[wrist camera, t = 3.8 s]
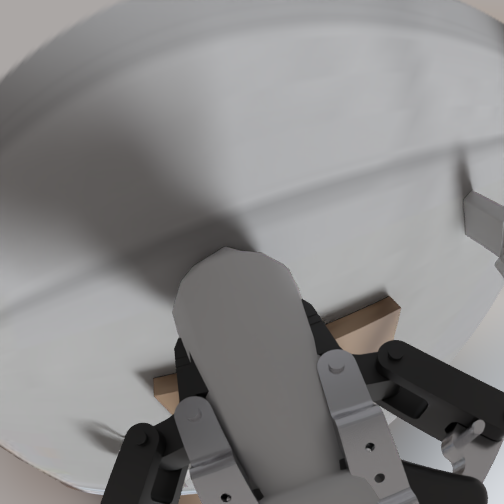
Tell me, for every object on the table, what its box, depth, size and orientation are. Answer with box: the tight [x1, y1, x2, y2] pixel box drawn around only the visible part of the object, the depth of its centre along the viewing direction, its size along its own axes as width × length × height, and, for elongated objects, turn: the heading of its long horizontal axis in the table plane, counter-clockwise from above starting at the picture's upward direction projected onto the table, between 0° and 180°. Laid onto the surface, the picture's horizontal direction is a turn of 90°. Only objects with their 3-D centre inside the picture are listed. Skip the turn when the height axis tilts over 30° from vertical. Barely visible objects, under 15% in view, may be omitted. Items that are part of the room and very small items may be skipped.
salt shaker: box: [172, 246, 381, 504], centre depth 9 cm, size 6×6×13 cm
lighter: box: [463, 191, 504, 277], centre depth 15 cm, size 7×2×8 cm, turn 34°
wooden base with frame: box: [153, 296, 401, 415], centre depth 20 cm, size 18×18×6 cm
